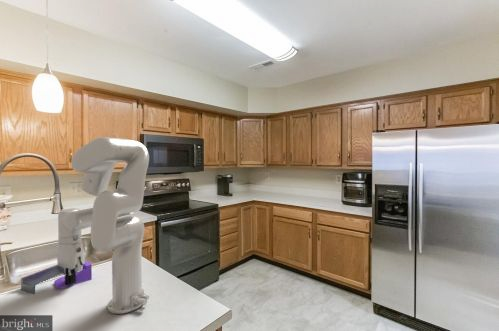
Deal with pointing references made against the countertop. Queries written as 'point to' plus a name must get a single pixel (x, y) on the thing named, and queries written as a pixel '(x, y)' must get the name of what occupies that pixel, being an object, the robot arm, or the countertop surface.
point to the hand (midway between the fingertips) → (70, 283)
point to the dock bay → (39, 278)
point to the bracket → (80, 276)
